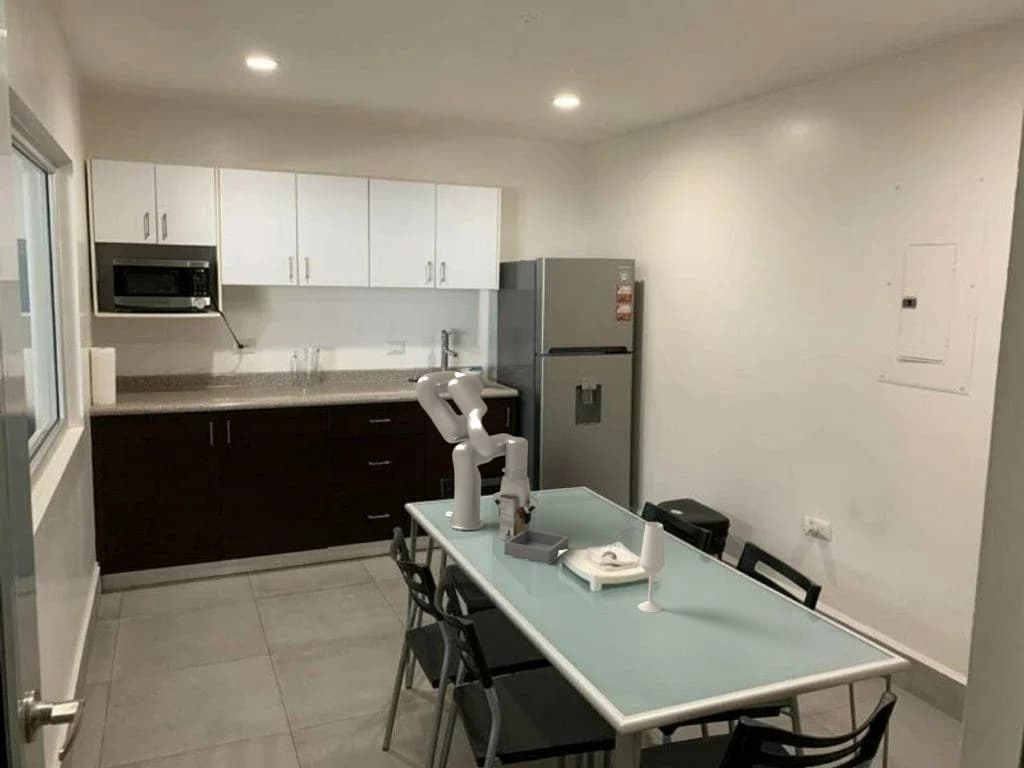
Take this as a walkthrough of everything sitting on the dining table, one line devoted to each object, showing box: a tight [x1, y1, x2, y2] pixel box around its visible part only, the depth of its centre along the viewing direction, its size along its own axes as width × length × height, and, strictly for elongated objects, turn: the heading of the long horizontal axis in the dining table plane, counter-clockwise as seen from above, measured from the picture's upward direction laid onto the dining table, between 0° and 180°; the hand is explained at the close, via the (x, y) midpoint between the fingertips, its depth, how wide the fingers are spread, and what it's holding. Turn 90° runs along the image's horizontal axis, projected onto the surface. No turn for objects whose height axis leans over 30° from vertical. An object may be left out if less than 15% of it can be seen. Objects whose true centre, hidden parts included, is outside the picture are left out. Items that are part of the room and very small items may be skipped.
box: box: [503, 528, 570, 565], centre depth 257 cm, size 16×16×4 cm
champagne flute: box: [637, 521, 666, 613], centre depth 214 cm, size 7×7×24 cm
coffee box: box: [499, 495, 531, 541], centre depth 270 cm, size 9×6×16 cm
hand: (514, 520), depth 270 cm, fingers open, 9 cm apart
